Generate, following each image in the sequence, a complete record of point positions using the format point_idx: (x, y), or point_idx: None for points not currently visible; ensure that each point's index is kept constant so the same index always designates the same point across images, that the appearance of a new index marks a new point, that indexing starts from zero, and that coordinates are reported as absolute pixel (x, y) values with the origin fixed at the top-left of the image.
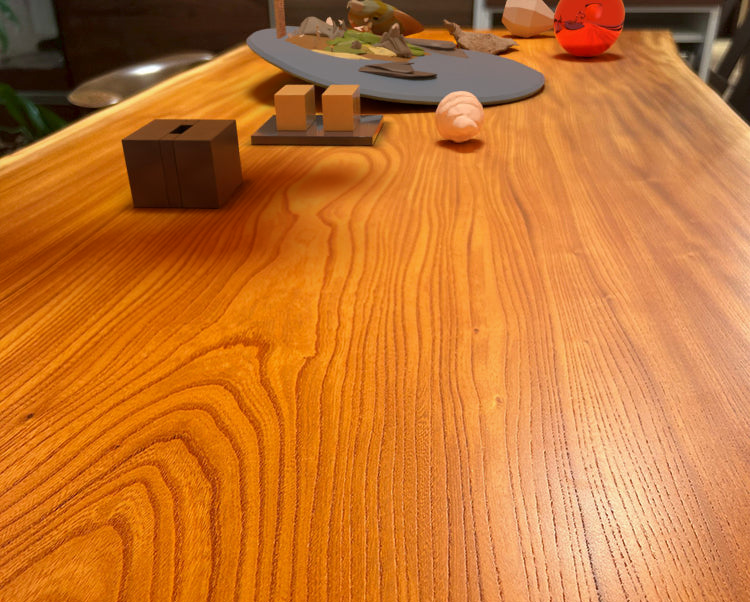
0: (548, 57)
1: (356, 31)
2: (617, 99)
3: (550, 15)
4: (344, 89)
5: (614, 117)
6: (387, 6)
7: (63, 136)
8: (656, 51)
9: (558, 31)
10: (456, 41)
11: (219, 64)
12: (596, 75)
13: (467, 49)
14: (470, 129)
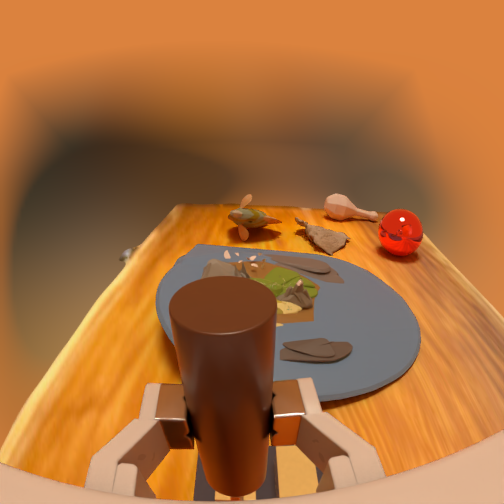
0: (375, 253)
1: (259, 280)
2: (472, 341)
3: (354, 208)
4: (301, 469)
5: (494, 386)
6: (259, 213)
7: (5, 457)
8: (427, 244)
9: (386, 241)
10: (307, 234)
11: (135, 265)
12: (427, 289)
13: (321, 247)
14: None
